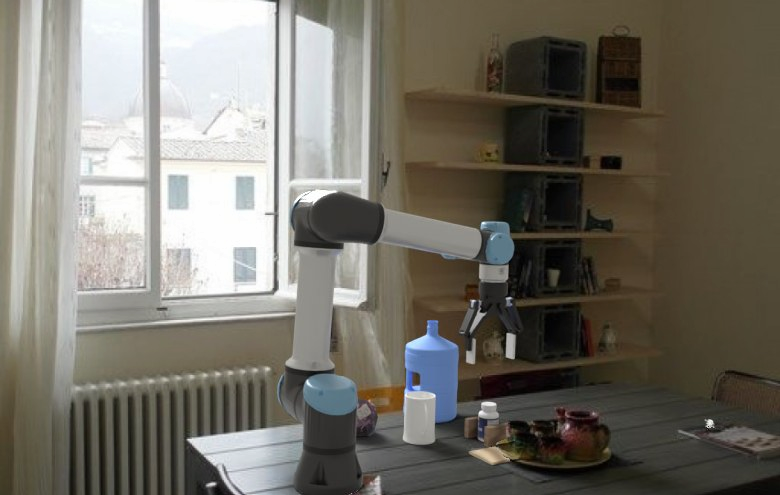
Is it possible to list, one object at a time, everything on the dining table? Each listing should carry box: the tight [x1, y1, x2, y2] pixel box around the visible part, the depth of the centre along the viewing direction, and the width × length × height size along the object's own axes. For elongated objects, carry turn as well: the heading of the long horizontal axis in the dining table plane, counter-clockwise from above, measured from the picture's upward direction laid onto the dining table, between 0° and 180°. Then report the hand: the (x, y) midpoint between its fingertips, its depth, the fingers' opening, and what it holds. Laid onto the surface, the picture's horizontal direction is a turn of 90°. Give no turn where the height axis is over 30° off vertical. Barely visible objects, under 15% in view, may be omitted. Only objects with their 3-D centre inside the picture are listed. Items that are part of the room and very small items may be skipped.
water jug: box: [402, 319, 460, 424], centre depth 222 cm, size 16×16×28 cm
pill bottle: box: [477, 401, 500, 443], centre depth 202 cm, size 5×5×10 cm
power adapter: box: [704, 418, 715, 428], centre depth 218 cm, size 3×3×3 cm
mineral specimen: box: [356, 398, 379, 437], centre depth 204 cm, size 10×10×10 cm
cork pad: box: [468, 446, 511, 466], centre depth 190 cm, size 9×9×1 cm
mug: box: [402, 391, 436, 446], centre depth 199 cm, size 12×8×12 cm
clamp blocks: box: [463, 415, 509, 448], centre depth 203 cm, size 9×10×5 cm
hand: (490, 360), depth 201 cm, fingers open, 13 cm apart
